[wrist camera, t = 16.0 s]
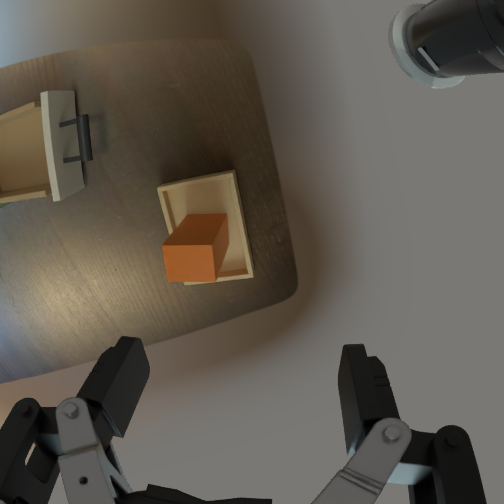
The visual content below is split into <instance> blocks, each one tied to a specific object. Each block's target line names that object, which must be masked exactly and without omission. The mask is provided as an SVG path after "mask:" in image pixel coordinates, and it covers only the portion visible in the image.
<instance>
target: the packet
mask: <svg viewBox="0 0 504 504" xmlns="http://www.w3.org/2000/svg"><path fill="white" fill-rule="evenodd" d="M228 246H229V234H228V220H227V213H225V214H188V215H186V216H185V218H184V219H183V220H182V221H181V223H180V224H179V225H178V226H177V227H176V229H175V230H174V231H173V232H172V234H171V235H170V236H169V237H168V238H167V240H166V241H165V242H164V243H163V245H162V249H163V255H164V261H165V267H166V273H167V278H168V281H171V282H216V280H217V277H218V274H219V272H220V269H221V266H222V263H223V260H224V257H225V254H226V251H227V249H228Z"/></svg>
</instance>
